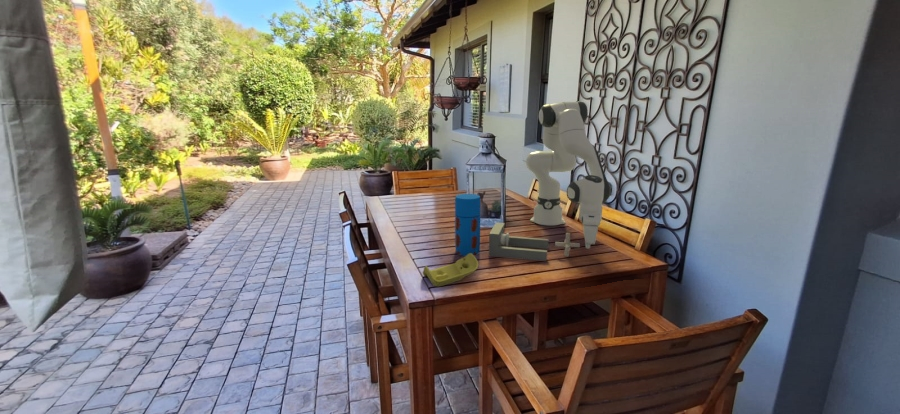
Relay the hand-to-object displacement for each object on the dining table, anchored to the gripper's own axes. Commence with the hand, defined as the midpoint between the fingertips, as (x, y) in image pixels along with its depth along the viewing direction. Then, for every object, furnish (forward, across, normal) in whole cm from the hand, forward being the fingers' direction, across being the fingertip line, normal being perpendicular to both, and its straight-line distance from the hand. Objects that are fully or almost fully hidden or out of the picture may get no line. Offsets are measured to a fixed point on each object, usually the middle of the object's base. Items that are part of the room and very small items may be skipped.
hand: (587, 247), depth 166 cm
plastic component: (+5, +34, -50) cm, 60 cm away
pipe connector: (+5, 0, -8) cm, 9 cm away
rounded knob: (+3, 0, -37) cm, 37 cm away
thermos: (+5, +6, -50) cm, 51 cm away
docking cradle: (+5, 0, -28) cm, 29 cm away
